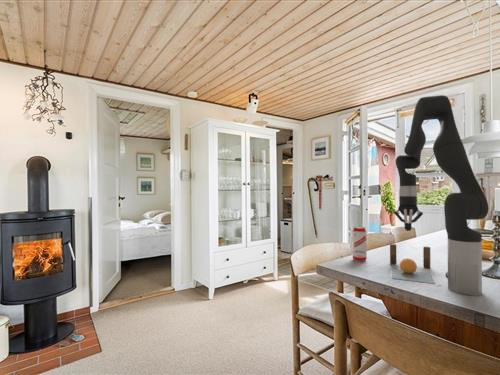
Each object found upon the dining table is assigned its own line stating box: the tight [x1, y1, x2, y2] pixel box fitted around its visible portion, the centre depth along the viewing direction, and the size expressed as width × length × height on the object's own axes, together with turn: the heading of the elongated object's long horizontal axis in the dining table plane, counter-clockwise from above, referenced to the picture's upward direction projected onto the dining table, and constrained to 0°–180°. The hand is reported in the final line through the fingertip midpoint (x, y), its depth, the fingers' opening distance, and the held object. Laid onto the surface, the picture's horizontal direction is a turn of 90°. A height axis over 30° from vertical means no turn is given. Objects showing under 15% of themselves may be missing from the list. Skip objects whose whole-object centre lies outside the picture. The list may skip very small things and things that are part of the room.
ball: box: [399, 258, 418, 274], centre depth 114 cm, size 6×6×6 cm
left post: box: [389, 243, 397, 266], centre depth 128 cm, size 3×3×9 cm
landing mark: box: [391, 268, 436, 285], centre depth 110 cm, size 14×14×1 cm
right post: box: [422, 246, 431, 270], centre depth 122 cm, size 3×3×9 cm
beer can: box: [352, 226, 368, 263], centre depth 134 cm, size 6×6×16 cm
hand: (408, 230), depth 136 cm, fingers closed
